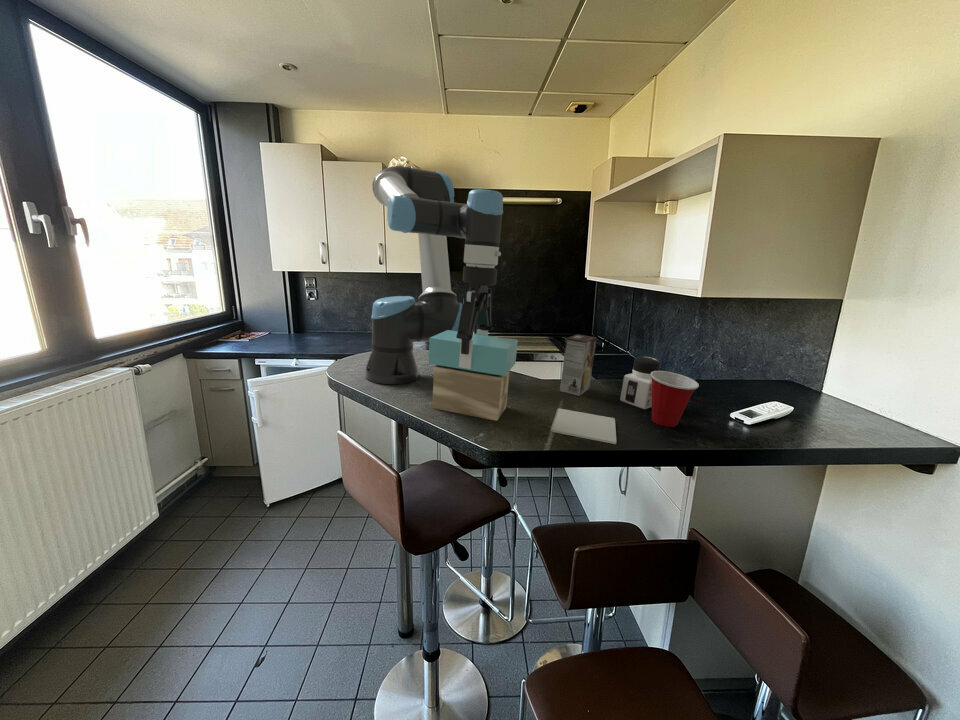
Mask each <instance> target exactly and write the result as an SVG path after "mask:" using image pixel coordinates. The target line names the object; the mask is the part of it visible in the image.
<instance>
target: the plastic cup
mask: <svg viewBox="0 0 960 720" xmlns="http://www.w3.org/2000/svg"><path fill="white" fill-rule="evenodd" d="M651 378H652V405H651V407H650V408H651V422H652V421H653V422H654V423H653V422H652V423H653V424H655V423H656V424H655V425H657V424H658V425H657V426H659V425H661V426H660V427H662V426H666V427H665V428H667V427H674V426H676V425H677V426H678V424H679V423H680V420H681V417H682V415H683V414H684V411H685V410H686V407H687V405H688V403H689V401H690V399H691V397H692V396H693V393H694V392H695V391H696V389H698V388H700V385H699V383H698V382H697V381H696V380H695V379H693V378H691V377H688V376H686V375H683V374H680V373H676V372H671V371H666V370H659V371H653V372H651ZM677 426H676V427H677ZM674 428H675V427H674Z"/></svg>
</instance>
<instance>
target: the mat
mask: <svg viewBox="0 0 960 720" xmlns="http://www.w3.org/2000/svg"><path fill="white" fill-rule="evenodd" d="M555 411H556V412H555V415H554V417H553V420H552V424H551V427H550V430H549V432H550V433H551V432H552V433H556V434H561V435H567V436H571V437H572V436H573V437H576V438H582V439H587V440H592V441H595V442H596V441H598V442H602V443H609V444H611V445H612V444H613V445H617V431H616V430H617V429H616V418H615V417H609V416H604V415H599V414H593V413H588V412H581V411H577V410H571V409H565V408H558V407H557V408H556V410H555Z"/></svg>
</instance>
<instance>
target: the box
mask: <svg viewBox="0 0 960 720" xmlns="http://www.w3.org/2000/svg"><path fill="white" fill-rule="evenodd" d="M510 373H511V369H510V370H509V372H508V373H507V374H506V375H505V376H501V375H495V374H489V373H483V372H477V371H471V370H465V369H459V368H453V367H447V366H441V365H434V366H433V383H432V385H433V386H432V402H431V406H432V407H431V408H432V409H434V410H439V411H440V410H441V411H445V412H451V413H456V414H459V415H460V414H462V415H466V416H471V417H475V418H481V419H485V420H492V421H495V422H496V421H498V420H499V419H500V417H501V416H502V414H503V413H504V411H505V410H506V408H507V406H508V405H507V402H508V394H509V393H508V392H509V384H510Z"/></svg>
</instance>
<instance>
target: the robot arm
mask: <svg viewBox="0 0 960 720" xmlns="http://www.w3.org/2000/svg"><path fill="white" fill-rule="evenodd" d="M372 192H373V195H374V197H375V198H376V200H377V201H378V202H379V203H380V204H381V205H383V206H384V207H386V209H387V212H386V216H387V217H386V218H387V219H386V220H387V225H388V227H389V229H390V231H395V232H401V233H403V234H404V233H405V234H407V233H409V234H417V235H418V249H419V260H420V261H419V262H420V263H419V264H420V274H421V276H420V277H421V289H422V293H421V294H420V295H419V296H418V297H417V300H418V301H416V300H415V297H413V296H411V295H404V296H403V295H397V296H395V295H394V296H386V297H382V298H379V299H376V300H375V301H374V302H373V303H372V308H371V309H372V311H371V317H370V318H371V352H370V355H369V358H368V361H367V364H366V367H365V374H364V375H365V379H366V380H368V381H371V382H373V383H377V384H381V385H402V384H407V383H412V382H414V381H416V380H417V379H418V378H419V369H418V365H417V362H416V358H415V355H414V343H429V338H430V337H433V336H435V335H437V334H440V333H442V332H444V331H447V330H451V331H458V332H457V336H456V337H457V338H459V339H461V341H460V356H459V367H461V368H467V369H471V366H472V353H473V339H472V336H473V334H474V332H475V328H476V324H477V327H478V329H476V334H479V335H487V336H489V331H492V330H493V326H492V325H493V323H492V292H493V289H492V288H490V287H489V288H488V286H495V285H496V284H497V279H498V277H497V276H498V270H497V268H495V267H496V266H498V264H499V262H498V261H499V257H501V255H502V253H501V251H500V242H501V231H502V224H503V223H502V221H503V214H504V210H503V209H504V196H503V194H502V193H501V192H500V191H497V190H493V189H479V188H477V189H476V188H475V189H472V190H470V191H469V192H468V195H467V201H466V203H461V202H460V203H459V202H455V199H454V198H455V189H454V183H453V180H452V179H451V177H450V176H449V175H447V174H446V173H445V172H444V173H443V172H439V171H437V170H426V169H420V168H414V167H409V166H405V165H395V166H388V167H386V168H383V169H382V170H380V171H379V172H378V173H376V174H375V176H374V178H373V181H372ZM447 237H452V238H453V237H454V238H458V239H465V241H464V252H463V263H464V264H465V265H464V266H463V268H462V269H463V271H462V282H463V283H465V284H469V290H468V291H467V290H464V291H463V295H462V296H463V297H462V303H461V302H458V297H457V294H456V293H455V292H453V291H452V285H451V274H450V273H451V271H450V264H449V263H450V261H449V252H448V240H447Z"/></svg>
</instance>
